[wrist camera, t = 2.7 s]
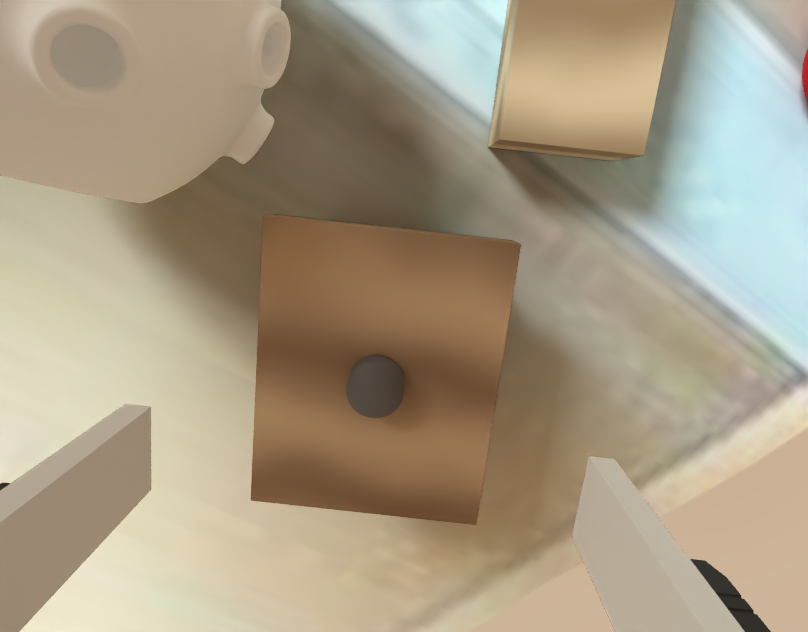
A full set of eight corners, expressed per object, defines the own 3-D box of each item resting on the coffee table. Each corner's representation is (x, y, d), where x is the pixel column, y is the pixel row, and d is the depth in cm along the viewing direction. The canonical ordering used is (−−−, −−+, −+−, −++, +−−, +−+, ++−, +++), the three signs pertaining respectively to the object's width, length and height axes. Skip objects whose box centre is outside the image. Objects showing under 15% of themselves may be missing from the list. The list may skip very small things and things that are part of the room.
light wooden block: (612, 160, 29) (643, 155, 25) (487, 147, 29) (499, 139, 25) (660, -87, 26) (704, -137, 22) (522, -102, 26) (541, -155, 22)
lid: (471, 499, 26) (479, 541, 23) (263, 477, 26) (242, 516, 23) (511, 240, 23) (527, 247, 20) (276, 214, 23) (253, 217, 20)
